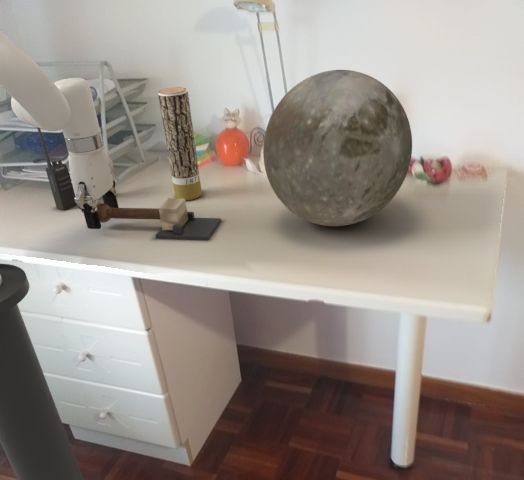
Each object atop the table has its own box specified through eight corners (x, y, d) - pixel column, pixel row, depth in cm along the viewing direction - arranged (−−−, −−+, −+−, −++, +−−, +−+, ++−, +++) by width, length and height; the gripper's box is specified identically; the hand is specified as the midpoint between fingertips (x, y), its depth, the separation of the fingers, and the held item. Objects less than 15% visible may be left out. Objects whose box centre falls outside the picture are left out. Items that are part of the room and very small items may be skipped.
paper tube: (170, 200, 143) (151, 93, 128) (184, 190, 148) (168, 86, 133) (193, 202, 140) (177, 94, 126) (207, 192, 145) (193, 87, 131)
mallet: (188, 219, 129) (185, 198, 126) (179, 230, 124) (175, 208, 121) (101, 217, 134) (96, 197, 131) (89, 228, 129) (84, 207, 126)
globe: (291, 192, 141) (285, 58, 124) (415, 199, 131) (427, 55, 114) (248, 244, 118) (233, 89, 101) (394, 256, 109) (405, 88, 92)
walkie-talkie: (64, 210, 142) (40, 128, 130) (55, 208, 144) (31, 126, 132) (79, 204, 145) (57, 122, 134) (70, 202, 147) (48, 121, 135)
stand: (221, 221, 129) (219, 211, 128) (207, 240, 121) (206, 229, 120) (171, 220, 132) (170, 210, 131) (155, 238, 124) (153, 227, 123)
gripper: (87, 131, 128) (105, 205, 138) (47, 156, 114) (71, 235, 124) (118, 131, 126) (134, 205, 136) (81, 155, 113) (102, 236, 123)
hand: (104, 219), depth 130 cm, fingers open, 8 cm apart
